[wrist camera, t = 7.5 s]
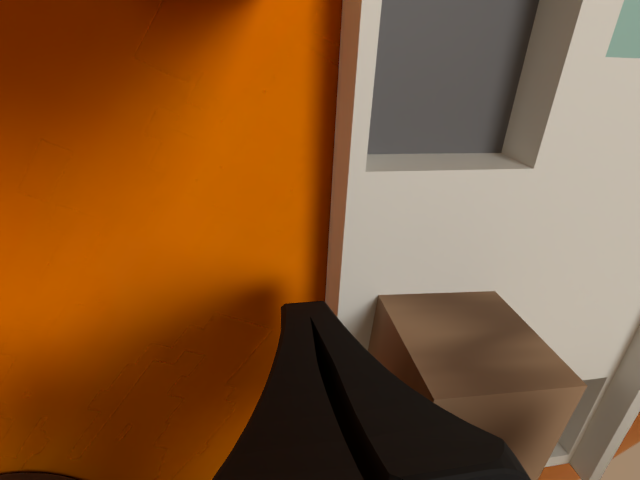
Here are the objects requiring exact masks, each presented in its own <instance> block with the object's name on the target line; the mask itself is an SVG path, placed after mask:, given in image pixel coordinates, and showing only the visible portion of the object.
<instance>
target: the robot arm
mask: <svg viewBox="0 0 640 480" xmlns="http://www.w3.org/2000/svg"><path fill="white" fill-rule="evenodd" d="M212 480H531V479H530V477H529V476H528V474H527V472H526V471H525V469H524V468H523V466H522V465H521V463H520V462H519V460H518V459H517V457H516V456H515V454H514V453H513V452H512V450H511V449H510V448H509V447H508V445H507V444H506V443H505V441H504V440H503V439H501V438H499V437H497V436H495V435H493V434H491V433H489V432H487V431H485V430H483V429H481V428H479V427H476V426H474V425H472V424H470V423H468V422H466V421H464V420H462V419H461V418H459V417H457V416H455V415H454V414H452V413H450V412H448V411H446V410H445V409H443V408H441V407H440V406H438V405H436V404H435V403H433V402H432V401H430V400H429V399H427V398H426V397H424V396H423V395H421V394H420V393H418V392H417V391H415V390H414V389H412V388H411V387H409V386H408V385H407V384H405V383H404V382H403V381H401V380H400V379H399V378H398V377H396V376H395V375H394V374H393V373H391V372H390V371H389V370H388V369H387V368H385V367H384V366H383V365H382V364H381V363H380V362H379V361H378V360H377V359H376V358H375V357H374V356H372V355H371V354H370V353H369V352H368V351H367V350H366V349H365V348H364V347H363V346H362V345H361V344H360V342H359V341H358V340H357V339H356V338H355V337H354V336H353V335H352V334H351V333H350V332H349V331H348V329H347V328H346V327H345V326H344V325H343V324H342V322H341V321H340V320H339V319H338V318H337V316H336V315H335V314H334V313H333V311H332V310H331V309H330V307H329V306H328V305H327V304H326V303H325V302H324V301H316V302H303V303H290V304H284V305H283V306H282V307H281V334H280V339H279V343H278V348H277V352H276V355H275V359H274V362H273V365H272V368H271V371H270V374H269V377H268V380H267V382H266V385H265V387H264V390H263V392H262V395H261V397H260V399H259V401H258V403H257V405H256V408H255V410H254V412H253V414H252V416H251V418H250V420H249V422H248V424H247V425H246V427H245V429H244V431H243V432H242V434H241V436H240V438H239V439H238V441H237V443H236V444H235V446H234V448H233V450H232V451H231V453H230V454H229V456H228V457H227V459H226V460H225V462H224V463H223V465H222V466H221V467H220V469H219V470H218V472H217V473H216V475H215V476H214V478H213V479H212Z"/></svg>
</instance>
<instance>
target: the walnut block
mask: <svg viewBox="0 0 640 480" xmlns="http://www.w3.org/2000/svg"><path fill="white" fill-rule="evenodd" d="M368 352H369V353H370V354H371V355H372V356H374V357H375V358H376V359H377V360H378V361H379V362H380V363H381V364H382V365H383V366H384V367H385V368H387V369H388V370H389V371H390V372H391V373H393V374H394V375H395V376H396V377H398V378H399V379H400V380H401V381H403V382H404V383H405V384H407V385H408V386H409V387H411V388H412V389H414V390H415V391H417V392H418V393H420V394H421V395H423V396H424V397H426V398H427V399H429V400H430V401H432V402H433V403H435V404H436V405H438V406H440V407H441V408H443V409H445V410H446V411H448V412H450V413H452V414H454V415H455V416H457V417H459V418H461V419H462V420H464V421H466V422H468V423H470V424H472V425H474V426H476V427H479V428H481V429H483V430H485V431H487V432H489V433H491V434H493V435H495V436H497V437H499V438H501V439H503V440H504V441H505V443H506V444H507V445H508V447H509V448H510V449H511V450H512V452H513V453H514V454H515V456H516V457H517V459H518V460H519V462H520V463H521V465H522V466H523V468H524V469H525V471H526V472H527V474H528V476H529V477H530V479H531V480H538V478H539V476H540V474H541V473H542V471H543V469H544V467H545V465H546V463H547V461H548V459H549V458H550V456H551V454H552V452H553V450H554V448H555V446H556V444H557V442H558V441H559V439H560V437H561V435H562V433H563V431H564V429H565V427H566V425H567V424H568V422H569V420H570V418H571V416H572V414H573V412H574V410H575V409H576V407H577V405H578V403H579V401H580V399H581V397H582V395H583V393H584V392H585V390H586V388H587V385H586V384H585V383H584V382H583V381H582V379H581V378H580V377H579V376H578V375H577V374H576V373H575V372H574V371H573V370H572V369H571V368H570V367H569V366H568V365H567V364H566V363H565V362H564V361H563V360H562V359H561V358H560V357H559V356H558V355H557V354H556V353H555V352H554V351H553V350H552V349H551V348H550V347H549V346H548V345H547V344H546V343H545V342H544V341H543V340H542V339H541V338H540V337H539V335H538V334H537V333H536V332H535V331H534V330H533V329H532V328H531V327H530V326H529V325H528V324H527V323H526V322H525V321H524V320H523V319H522V318H521V317H520V316H519V315H518V314H517V313H516V312H515V311H514V310H513V309H512V308H511V307H510V306H509V305H508V304H507V303H506V302H505V301H504V300H503V299H502V298H501V297H500V296H499V295H498V294H497V293H496V291H482V292H453V293H423V294H393V295H378V299H377V304H376V310H375V315H374V320H373V326H372V331H371V336H370V342H369V347H368Z"/></svg>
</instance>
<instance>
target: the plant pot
mask: <svg viewBox="0 0 640 480" xmlns="http://www.w3.org/2000/svg"><path fill="white" fill-rule="evenodd" d="M0 480H75V479H72V478H68V477H64V476H60V475H54V474H44V473H14V474H3V475H0Z"/></svg>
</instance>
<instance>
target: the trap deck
mask: <svg viewBox="0 0 640 480" xmlns="http://www.w3.org/2000/svg"><path fill="white" fill-rule="evenodd" d="M482 291H496V293H497V294H498V295H499V296H500V297H501V298H502V299H503V300H504V301H505V302H506V303H507V304H508V305H509V306H510V307H511V308H512V309H513V310H514V311H515V312H516V313H517V314H518V315H519V316H520V317H521V318H522V319H523V320H524V321H525V322H526V323H527V324H528V325H529V326H530V327H531V328H532V329H533V330H534V331H535V332H536V333H537V334H538V335H539V337H540V338H541V339H542V340H543V341H544V342H545V343H546V344H547V345H548V346H549V347H550V348H551V349H552V350H553V351H554V352H555V353H556V354H557V355H558V356H559V357H560V358H561V359H562V360H563V361H564V362H565V363H566V364H567V365H568V366H569V367H570V368H571V369H572V370H573V371H574V372H575V373H576V374H577V375H578V376H579V377H580V378H581V379H582V381H583V382H584V383H585V384H586V385H587V388H586V390H585V392H584V393H583V395H582V397H581V399H580V401H579V403H578V405H577V407H576V409H575V410H574V412H573V414H572V416H571V418H570V420H569V422H568V424H567V425H566V427H565V429H564V431H563V433H562V435H561V437H560V439H559V441H558V442H557V444H556V446H555V448H554V450H553V452H552V454H551V456H550V458H549V459H548V461H547V463H546V465H545V467H549V466H554V465H560V464H566V463H570V465H571V466H572V467H573V469H574V470H575V471H576V473H577V474H578V475H579V476H580V478H581V479H582V480H600V479H601V477H602V475H603V474H604V472H605V470H606V468H607V467H608V465H609V463H610V462H611V460H612V458H613V456H614V455H615V453H616V451H617V449H618V448H619V446H620V444H621V443H622V441H623V439H624V437H625V436H626V434H627V432H628V430H629V429H630V427H631V425H632V424H633V422H634V420H635V418H636V417H637V415H638V413H639V411H640V0H343V4H342V21H341V38H340V55H339V72H338V89H337V106H336V123H335V140H334V157H333V174H332V192H331V209H330V226H329V243H328V260H327V277H326V294H325V303H326V304H327V305H328V306H329V307H330V309H331V310H332V311H333V313H334V314H335V315H336V316H337V318H338V319H339V320H340V321H341V322H342V324H343V325H344V326H345V327H346V328H347V329H348V331H349V332H350V333H351V334H352V335H353V336H354V337H355V338H356V339H357V340H358V341H359V342H360V344H361V345H362V346H363V347H364V348H365V349H366V350H367V351H368V347H369V342H370V336H371V331H372V326H373V320H374V315H375V310H376V304H377V299H378V295H393V294H423V293H453V292H482Z"/></svg>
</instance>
